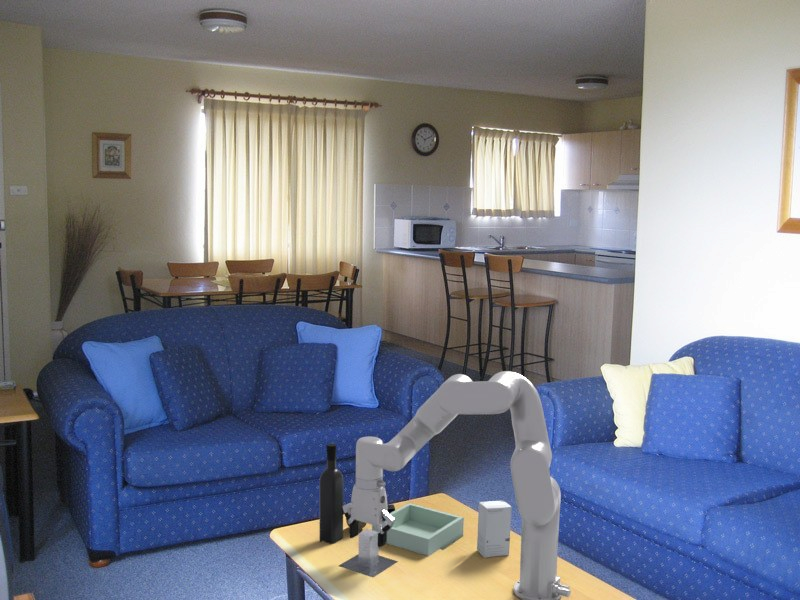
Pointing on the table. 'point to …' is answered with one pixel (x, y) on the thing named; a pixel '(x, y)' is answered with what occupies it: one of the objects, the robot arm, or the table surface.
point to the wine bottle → (331, 500)
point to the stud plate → (372, 572)
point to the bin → (423, 529)
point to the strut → (368, 548)
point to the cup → (360, 524)
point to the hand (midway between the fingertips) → (367, 541)
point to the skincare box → (494, 528)
